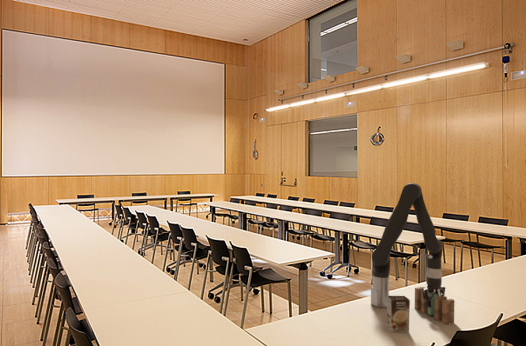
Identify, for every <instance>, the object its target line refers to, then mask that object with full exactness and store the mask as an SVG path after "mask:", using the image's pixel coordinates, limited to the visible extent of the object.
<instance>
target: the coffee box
mask: <svg viewBox="0 0 526 346" xmlns="http://www.w3.org/2000/svg"><path fill="white" fill-rule="evenodd" d="M410 305H411V300H410V298H408V297H406V295H389V296H388V298H387V307H386V328H387V329H388V330H389V332H391V333H409V332H410V312H411V311H410V308H411V307H410Z"/></svg>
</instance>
